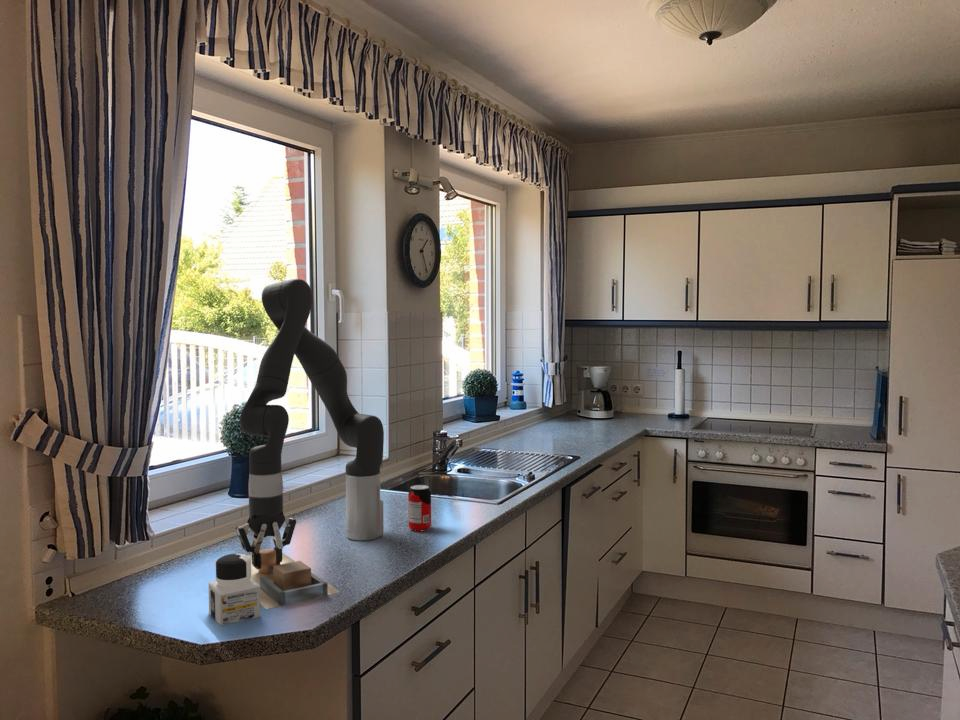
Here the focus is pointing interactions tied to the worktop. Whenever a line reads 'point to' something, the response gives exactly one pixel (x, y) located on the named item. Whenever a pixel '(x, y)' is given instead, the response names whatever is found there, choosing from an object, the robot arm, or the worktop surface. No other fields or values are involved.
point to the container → (234, 590)
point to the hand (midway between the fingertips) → (267, 565)
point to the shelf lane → (277, 597)
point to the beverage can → (419, 507)
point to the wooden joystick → (285, 571)
